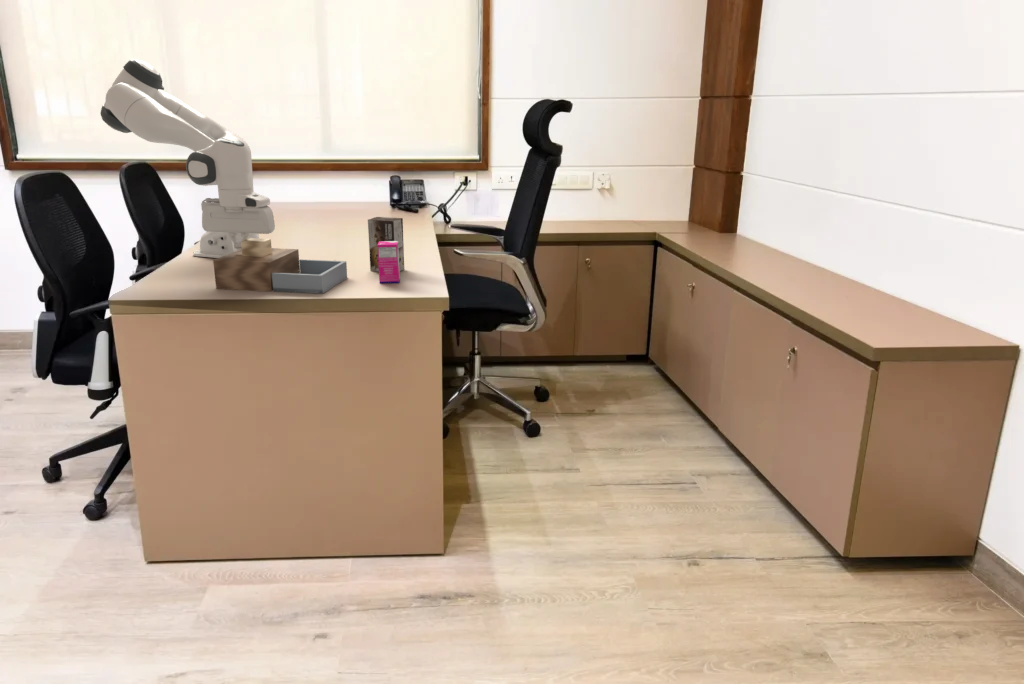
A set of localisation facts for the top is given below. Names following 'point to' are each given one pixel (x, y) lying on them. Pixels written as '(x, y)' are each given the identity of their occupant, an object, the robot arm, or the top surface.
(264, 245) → the birch block
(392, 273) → the supplement box
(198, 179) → the robot arm
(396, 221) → the coffee box
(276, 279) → the box
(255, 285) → the zigzag grain wood block
